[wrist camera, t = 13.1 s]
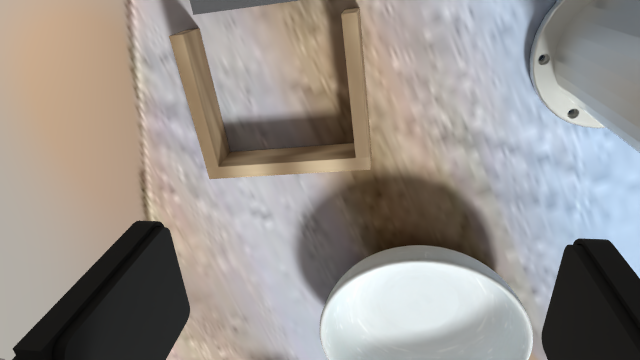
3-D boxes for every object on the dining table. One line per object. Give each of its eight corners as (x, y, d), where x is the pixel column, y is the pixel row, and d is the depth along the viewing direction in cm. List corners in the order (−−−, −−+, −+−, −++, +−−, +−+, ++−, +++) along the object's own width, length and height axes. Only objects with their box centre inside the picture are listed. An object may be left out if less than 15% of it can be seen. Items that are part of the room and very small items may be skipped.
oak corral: (359, 7, 34) (356, 12, 31) (371, 153, 40) (370, 169, 37) (186, 29, 37) (169, 36, 34) (222, 163, 43) (209, 179, 40)
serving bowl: (415, 182, 41) (420, 221, 35) (555, 297, 45) (581, 349, 39) (292, 294, 50) (279, 339, 44) (417, 381, 55) (422, 433, 49)
